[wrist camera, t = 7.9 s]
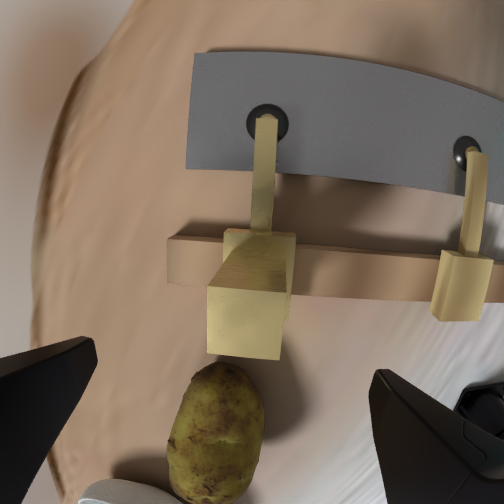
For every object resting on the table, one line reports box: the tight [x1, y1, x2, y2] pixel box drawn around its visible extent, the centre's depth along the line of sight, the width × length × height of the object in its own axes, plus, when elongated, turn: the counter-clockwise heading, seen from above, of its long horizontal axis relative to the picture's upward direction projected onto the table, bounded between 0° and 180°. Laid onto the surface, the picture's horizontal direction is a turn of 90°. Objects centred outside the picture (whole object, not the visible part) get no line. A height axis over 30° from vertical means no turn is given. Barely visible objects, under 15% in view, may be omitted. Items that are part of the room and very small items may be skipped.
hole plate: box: [186, 52, 504, 205], centre depth 18 cm, size 24×8×1 cm, turn 87°
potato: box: [167, 362, 265, 504], centre depth 21 cm, size 8×13×8 cm, turn 154°
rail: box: [167, 146, 504, 321], centre depth 18 cm, size 26×12×3 cm, turn 87°
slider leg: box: [207, 114, 296, 360], centre depth 15 cm, size 4×12×8 cm, turn 177°
